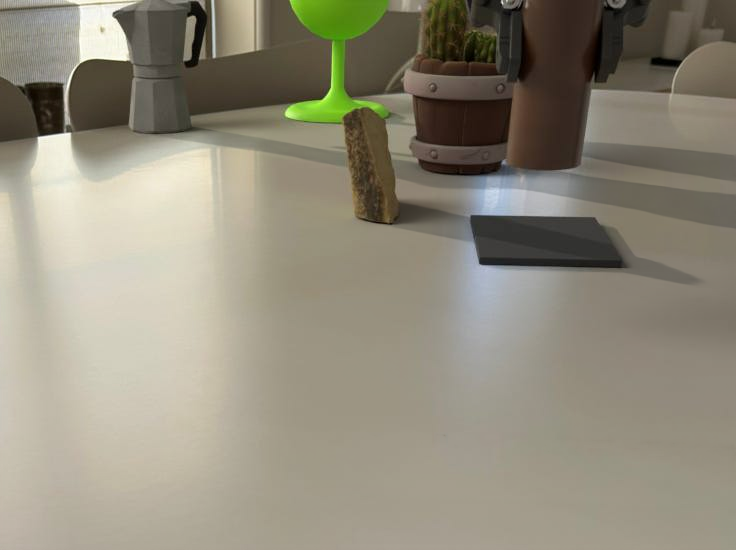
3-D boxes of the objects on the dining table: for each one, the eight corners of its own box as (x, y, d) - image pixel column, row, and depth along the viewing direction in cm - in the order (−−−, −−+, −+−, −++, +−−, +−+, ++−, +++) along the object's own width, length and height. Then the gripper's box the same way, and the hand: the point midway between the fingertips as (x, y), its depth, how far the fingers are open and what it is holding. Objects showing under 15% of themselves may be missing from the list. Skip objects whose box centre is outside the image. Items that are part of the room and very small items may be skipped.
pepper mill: (575, 156, 74) (605, -55, 67) (585, 170, 70) (618, -53, 63) (502, 156, 75) (525, -54, 68) (508, 170, 71) (533, -52, 64)
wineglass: (358, 125, 154) (364, -20, 144) (265, 117, 161) (264, -22, 151) (406, 111, 165) (414, -25, 155) (316, 104, 172) (319, -26, 162)
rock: (355, 170, 115) (301, 171, 107) (405, 104, 109) (351, 100, 102) (415, 246, 113) (363, 252, 106) (468, 183, 107) (417, 184, 100)
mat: (594, 223, 104) (595, 217, 103) (621, 267, 90) (622, 260, 90) (469, 221, 105) (470, 214, 104) (478, 264, 92) (479, 257, 91)
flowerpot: (488, 152, 135) (507, -33, 124) (542, 175, 123) (570, -28, 112) (380, 158, 133) (390, -30, 121) (425, 182, 120) (441, -25, 109)
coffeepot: (139, 137, 147) (130, -15, 137) (104, 129, 153) (92, -17, 143) (228, 125, 155) (225, -19, 145) (191, 118, 161) (185, -21, 151)
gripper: (460, -202, 68) (450, 31, 65) (692, -208, 66) (692, 29, 63) (450, -100, 75) (440, 113, 72) (658, -103, 74) (657, 114, 71)
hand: (558, 73), depth 68 cm, fingers closed on pepper mill, 5 cm apart
